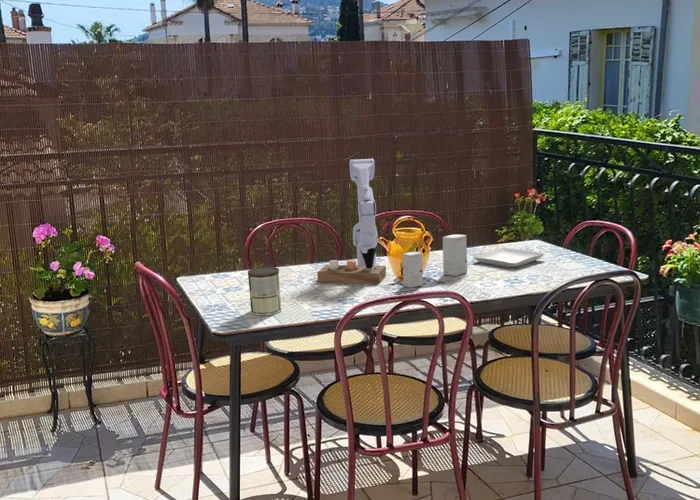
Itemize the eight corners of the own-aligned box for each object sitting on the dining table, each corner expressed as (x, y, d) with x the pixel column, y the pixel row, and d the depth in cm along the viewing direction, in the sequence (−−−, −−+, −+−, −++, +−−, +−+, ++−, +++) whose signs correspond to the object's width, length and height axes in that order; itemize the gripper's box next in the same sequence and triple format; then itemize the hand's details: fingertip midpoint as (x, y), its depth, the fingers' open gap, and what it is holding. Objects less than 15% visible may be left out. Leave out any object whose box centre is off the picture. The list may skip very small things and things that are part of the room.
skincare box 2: (455, 276, 273) (454, 238, 270) (442, 274, 277) (441, 236, 274) (467, 272, 279) (467, 234, 276) (455, 270, 283) (454, 233, 280)
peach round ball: (348, 271, 278) (348, 260, 277) (357, 271, 277) (357, 260, 276) (346, 273, 275) (345, 262, 274) (355, 273, 274) (354, 262, 273)
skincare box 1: (410, 288, 260) (409, 255, 257) (402, 285, 264) (401, 253, 261) (423, 285, 263) (422, 252, 261) (416, 282, 267) (415, 250, 264)
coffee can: (245, 311, 241) (241, 270, 238) (271, 305, 247) (268, 265, 244) (260, 317, 233) (257, 275, 230) (287, 311, 239) (284, 269, 236)
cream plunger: (331, 270, 280) (330, 260, 279) (340, 271, 279) (339, 260, 278) (328, 273, 277) (328, 262, 276) (337, 273, 276) (337, 262, 275)
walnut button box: (326, 274, 286) (326, 264, 285) (386, 275, 279) (385, 265, 278) (317, 282, 274) (317, 272, 273) (379, 283, 268) (378, 273, 267)
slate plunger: (366, 277, 277) (365, 266, 276) (375, 277, 276) (375, 266, 275) (364, 280, 274) (363, 268, 273) (373, 280, 273) (372, 269, 272)
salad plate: (471, 263, 294) (471, 255, 293) (502, 254, 308) (502, 246, 307) (514, 271, 278) (514, 262, 278) (545, 261, 292) (545, 253, 291)
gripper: (362, 229, 279) (363, 263, 282) (352, 236, 265) (354, 272, 268) (380, 229, 277) (381, 263, 280) (371, 236, 263) (372, 272, 266)
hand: (369, 267), depth 274 cm, fingers closed
